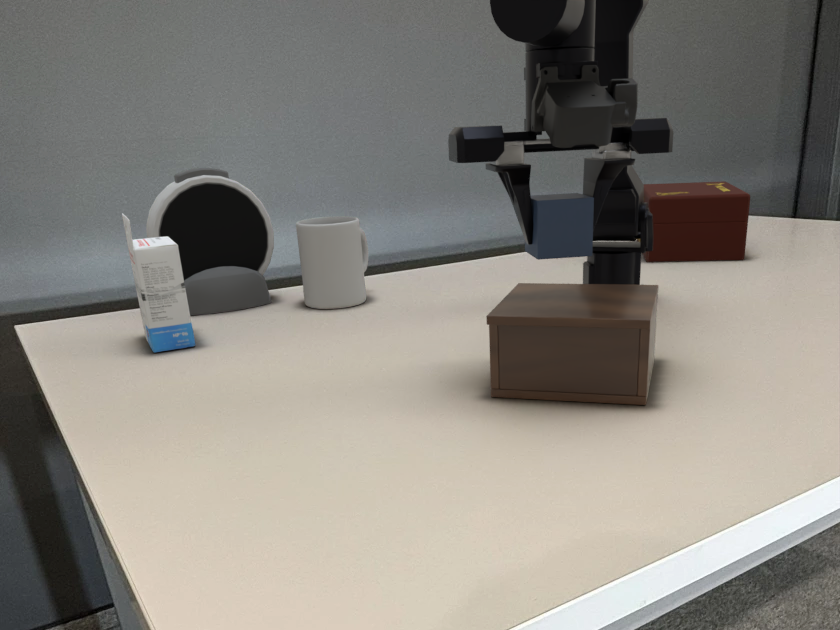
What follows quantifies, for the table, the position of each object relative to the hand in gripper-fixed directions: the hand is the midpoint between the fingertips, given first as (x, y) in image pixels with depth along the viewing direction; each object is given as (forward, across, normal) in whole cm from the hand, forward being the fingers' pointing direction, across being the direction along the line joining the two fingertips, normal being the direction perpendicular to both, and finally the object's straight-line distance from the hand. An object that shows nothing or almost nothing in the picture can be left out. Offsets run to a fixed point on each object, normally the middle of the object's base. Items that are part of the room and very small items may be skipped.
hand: (557, 242), depth 72 cm
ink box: (+12, -41, +24) cm, 49 cm away
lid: (+6, +1, -3) cm, 6 cm away
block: (+1, 0, 0) cm, 1 cm away
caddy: (+12, +1, -2) cm, 13 cm away
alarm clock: (+12, -37, +43) cm, 58 cm away
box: (+12, +38, +59) cm, 71 cm away
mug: (+12, -20, +40) cm, 46 cm away
